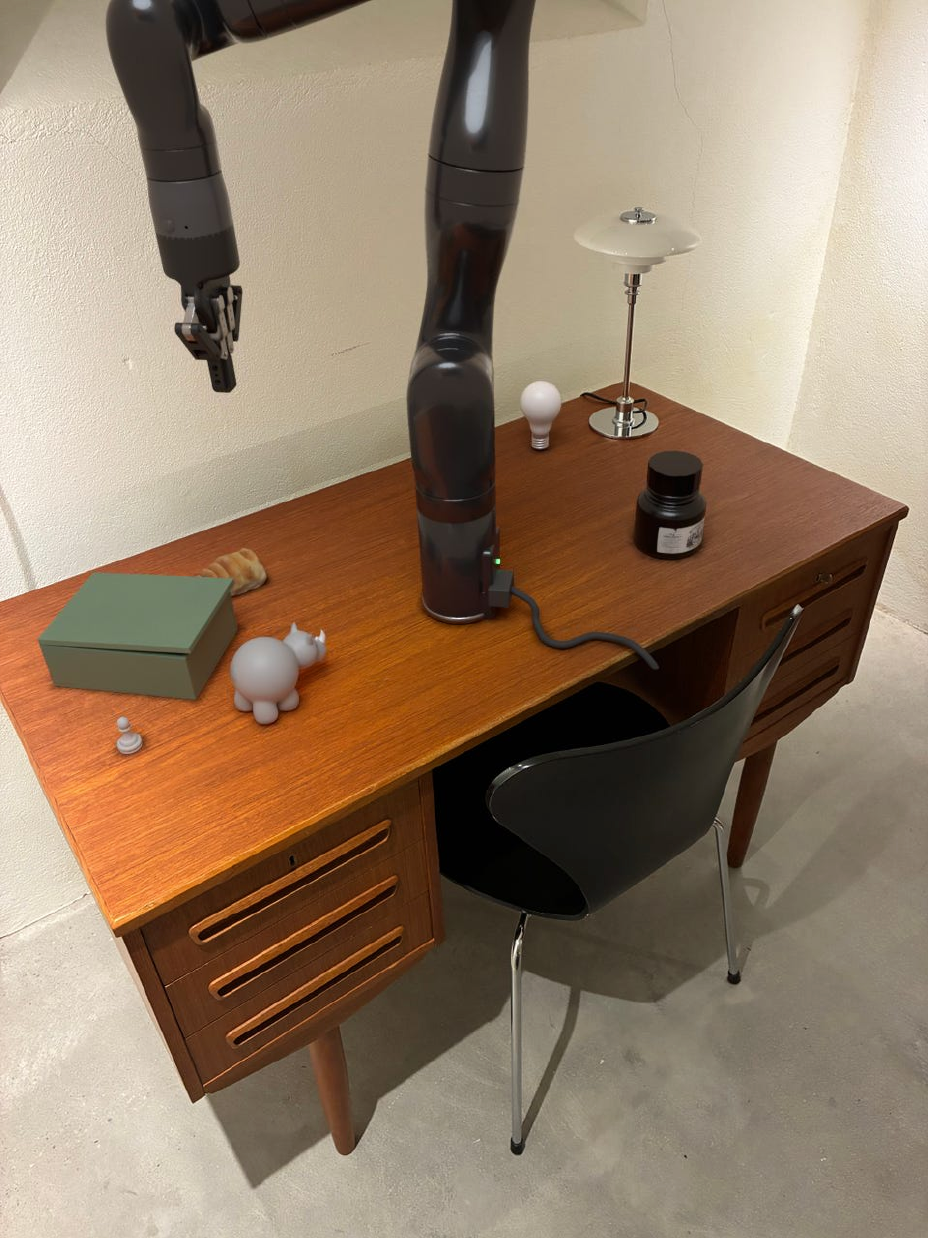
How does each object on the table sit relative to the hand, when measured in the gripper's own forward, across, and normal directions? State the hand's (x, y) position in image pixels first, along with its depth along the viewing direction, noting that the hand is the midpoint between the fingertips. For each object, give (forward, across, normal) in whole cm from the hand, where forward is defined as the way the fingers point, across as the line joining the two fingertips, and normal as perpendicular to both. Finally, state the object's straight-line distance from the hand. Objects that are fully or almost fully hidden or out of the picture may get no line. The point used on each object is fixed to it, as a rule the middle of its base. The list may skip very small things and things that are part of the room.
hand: (225, 389), depth 107 cm
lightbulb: (+29, +46, -29) cm, 62 cm away
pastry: (+29, +4, +6) cm, 30 cm away
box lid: (+23, -11, +10) cm, 27 cm away
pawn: (+29, -26, +6) cm, 40 cm away
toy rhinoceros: (+29, -16, -8) cm, 34 cm away
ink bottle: (+29, +21, -49) cm, 61 cm away
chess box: (+29, -12, +10) cm, 33 cm away
